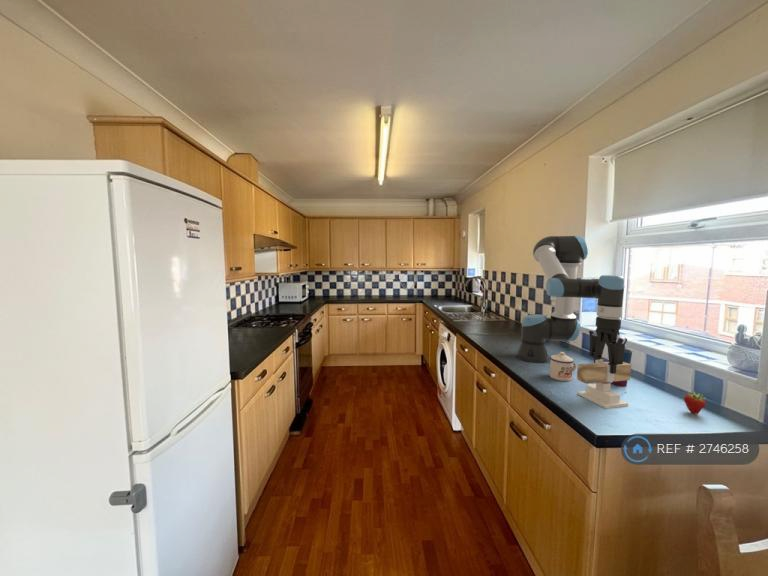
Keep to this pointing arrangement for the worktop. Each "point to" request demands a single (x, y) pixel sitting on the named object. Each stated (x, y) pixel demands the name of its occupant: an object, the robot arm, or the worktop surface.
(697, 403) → the fruit
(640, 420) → the worktop surface
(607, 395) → the fulcrum
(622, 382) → the cup
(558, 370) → the teacup with lid
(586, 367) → the beam
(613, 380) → the robot arm
